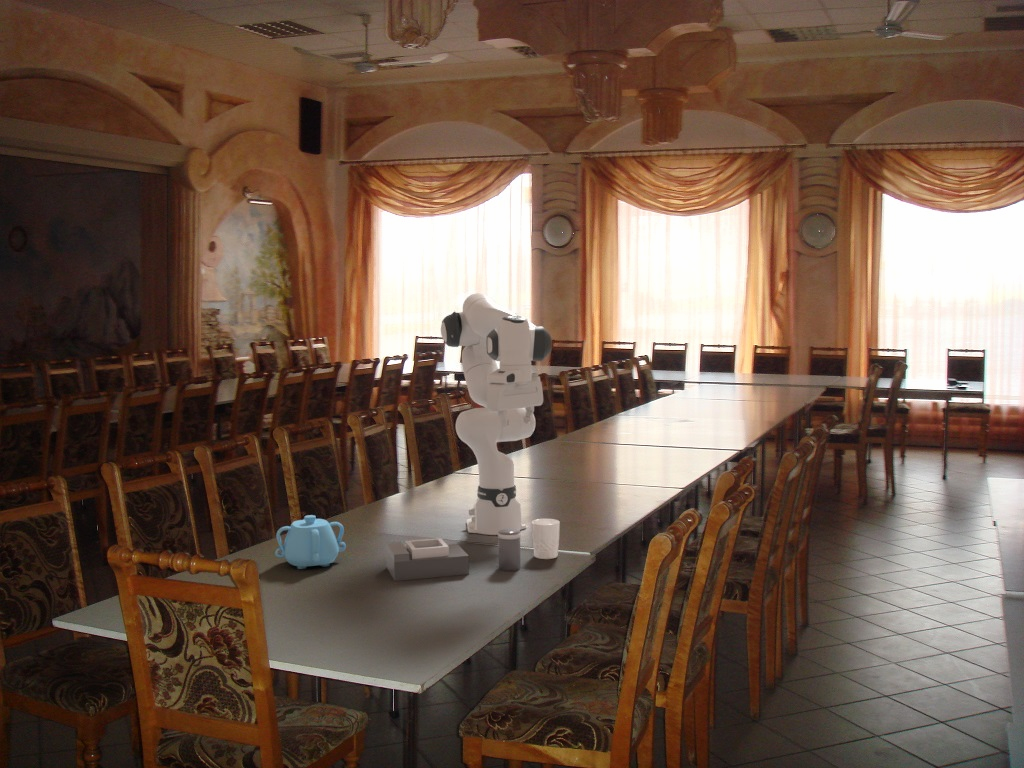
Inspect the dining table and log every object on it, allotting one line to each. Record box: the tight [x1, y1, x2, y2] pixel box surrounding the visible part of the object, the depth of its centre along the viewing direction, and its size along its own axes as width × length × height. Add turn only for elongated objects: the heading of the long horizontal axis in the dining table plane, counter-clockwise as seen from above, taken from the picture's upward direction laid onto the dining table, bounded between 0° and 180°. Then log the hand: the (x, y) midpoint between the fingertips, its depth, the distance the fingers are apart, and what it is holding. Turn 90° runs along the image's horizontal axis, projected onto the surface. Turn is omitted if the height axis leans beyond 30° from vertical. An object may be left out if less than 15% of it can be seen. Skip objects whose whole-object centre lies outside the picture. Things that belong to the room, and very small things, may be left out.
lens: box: [497, 529, 522, 572], centre depth 277 cm, size 6×6×10 cm
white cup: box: [531, 518, 561, 560], centre depth 288 cm, size 8×8×10 cm
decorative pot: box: [274, 514, 347, 570], centre depth 283 cm, size 16×16×14 cm
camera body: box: [385, 537, 470, 582], centre depth 275 cm, size 13×20×8 cm, turn 106°
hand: (516, 424), depth 281 cm, fingers open, 8 cm apart
